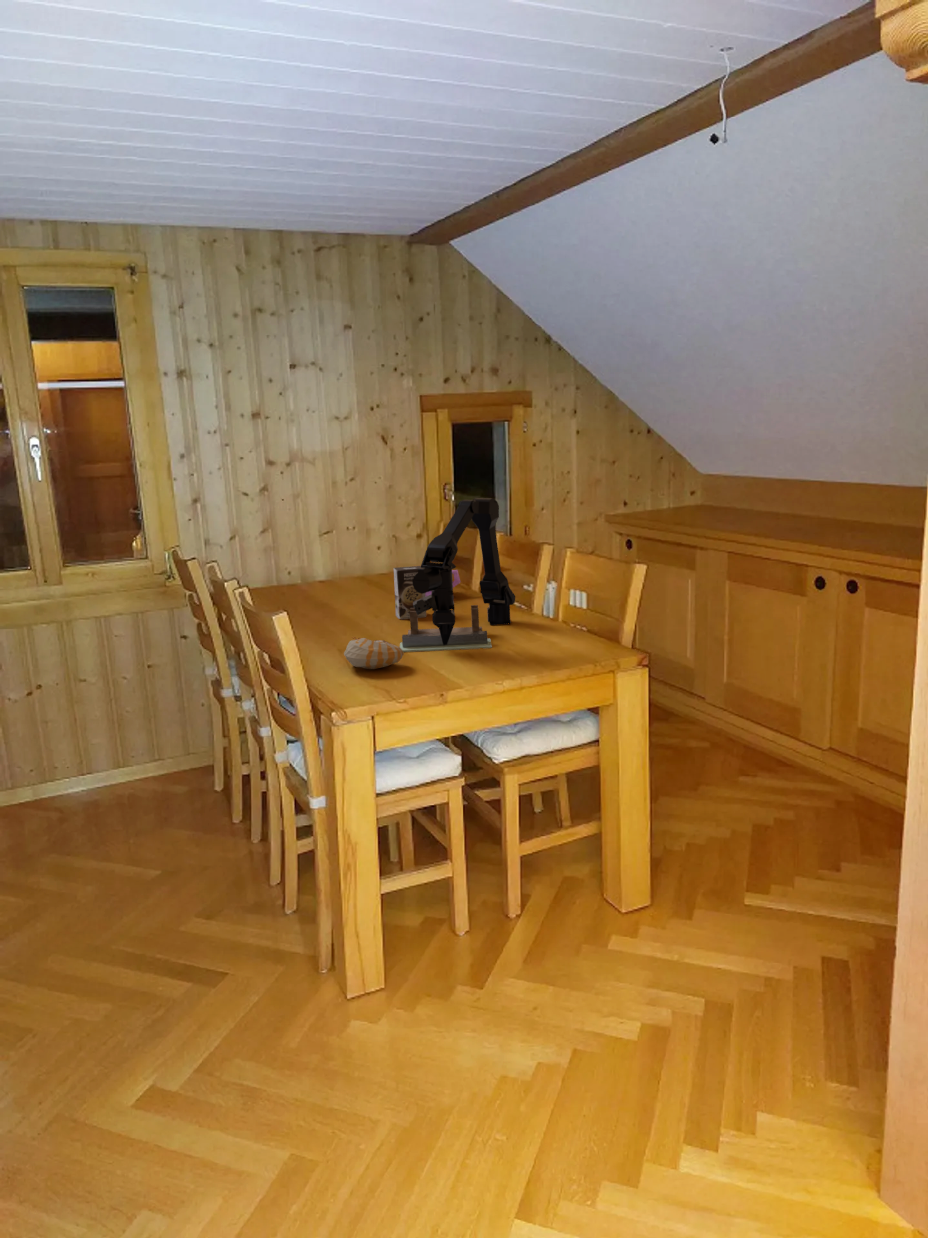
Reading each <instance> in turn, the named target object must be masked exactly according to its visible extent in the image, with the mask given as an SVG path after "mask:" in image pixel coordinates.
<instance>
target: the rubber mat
mask: <svg viewBox="0 0 928 1238" xmlns="http://www.w3.org/2000/svg"><path fill="white" fill-rule="evenodd" d="M487 641H488V644H471V645H449V646H427V647H405V648H403V643H402V642H400V643H399V647H400V648H401V649H402V651H403V653H414V652H415V653H417V652H435V651H437V652H439V651H454V650H455V651H458V650H459V651H460V649H461V650H479V649H480V648H483V649H492V648H493V646H492V640H491V638H488V637H487Z"/></svg>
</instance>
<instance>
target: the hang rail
mask: <svg viewBox="0 0 928 1238" xmlns="http://www.w3.org/2000/svg"><path fill="white" fill-rule="evenodd" d="M401 636H402V637H401V638H402V639H401V641H402V643H403V648H405V647H427V646H449V645H471V644H488V641H487V638H488V631H487V630H482V631H473V632H451V635H450V638H449V641H448V643H447V645H443V642H442V638H441V634H440V633H429V634H408V633H407V634H402V635H401Z"/></svg>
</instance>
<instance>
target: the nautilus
mask: <svg viewBox="0 0 928 1238" xmlns="http://www.w3.org/2000/svg"><path fill="white" fill-rule="evenodd" d="M404 654H405V652H403V651H402V649H401V648H400V646H398V645H395V644H393V643H391V642H388V641H385V640H380V639H379V640H377V639H376V640H371V639H369V638H366V637H358V638H356V637H355V636H353V637H352V640H350V641H349V642H348V644H347V645H346V649H345V651H344V652H343V655H344V657H345V659H346V661H348V663H350V664H351V666H353V667H356V668H361V669H365V670H375V669H381V668H385V667H388V666H390V665H393V664H396V663H398V662H400V661H401V660H402V658H403V656H404Z"/></svg>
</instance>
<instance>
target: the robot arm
mask: <svg viewBox="0 0 928 1238" xmlns="http://www.w3.org/2000/svg"><path fill="white" fill-rule="evenodd" d="M499 511H500V506H499V503H498V501H497V500H496V499H495V498H488V497H486V498H485V497H474V498H472V499H462V500H460V501H459V502H458V505H457V509H456V510H455V512H454V513H453V515H452V516H451V518H450V520H449V521H448V523H447V524H446V526H445V528H444V529H443V531H442V533H440V534H439V535H437V536H435V537H434V538H433V539H432V540H431V541H430V542H429V543H428V545H427V547H426V549H425V553H424V556H423V559H422V562H421V564H420V566H421V568H419V569H418V573H417V574H416V575H415V576H414V578H413V581H412V583H413V587H414V589H415V590H416V591H417V592H418V593H421V594H423V593H427V592H430V591H432V593H431V594H432V595H429V596H426V597H423V598H421V599H419V600H416V601H414V602H413V606H414V608H415V611H416V613H417V615H419V614H421V613H422V612H424V611H426V612H427V611H429V610H431V611H432V612H433V613H432V616H431V617H432V624H433V625H434V626H435V627H437V629H439V631H440V634H441V638H442V642H443V645H447V643H448V641H449V638H450V635H451V632H452V629H453V628H455V624H456V613H455V609H456V608H455V601H454V587H453V581H454V580H453V574H452V570H455V569H456V568H457V566H456V565H455V564H454V563H453V561H455V559H456V558H455V557H456V556H457V554H458V551H459V550H458V549H459V548H458V543H459V540H460V539H461V537H462V536H463V533H464V532H465V530H466V529H467V527H468V526H469V524H470V522H471V521H472V523H474V525H475V526H476V527H477V529H478V533H479V540H480V548H481V549H480V550H481V555H482V563H483V569H484V575H483V578H482V579H481V580H479V587H480V588H479V589H480V594H481V596H482V602H483V604H488V606H487V608H486V609H487V612H486V613H487V622H488V623H489V625H490V626H497V624H503V625H511V624H512V622H511V606H513V605H514V604H515V602H516V594H515V593H514V592H513V591H512V589H511V588H510V585H509V581H508V578H507V576H505V573H503V572H502V567H501V562H500V554H499V546H498V538H497V533H496V532H497V531H496V524H497V522H498V520H499V518H500V517H499V516H500V512H499ZM508 623H509V624H508ZM510 623H511V624H510Z"/></svg>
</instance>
